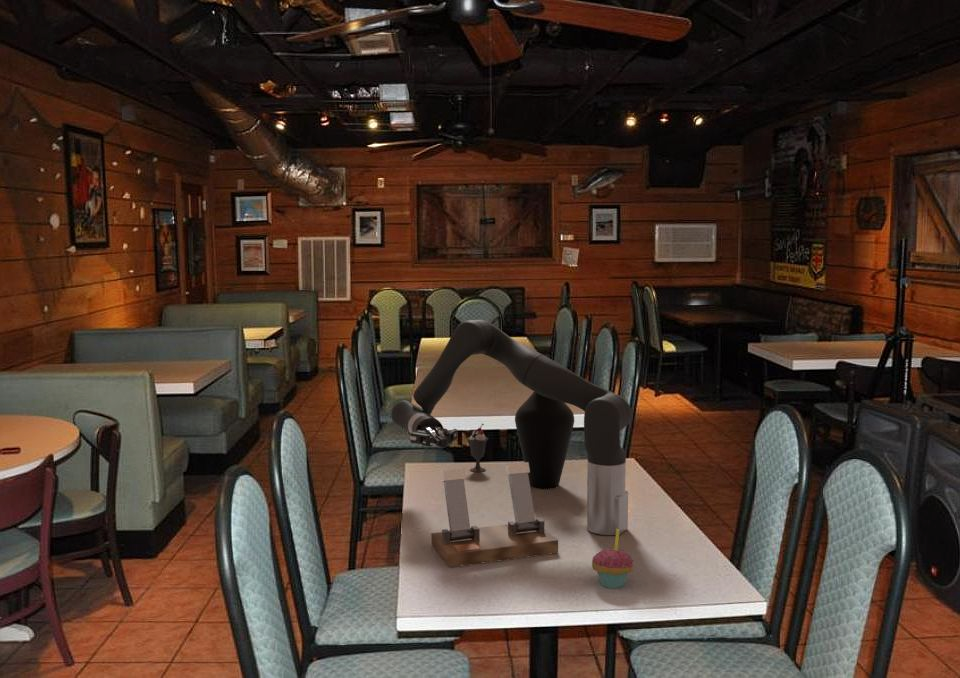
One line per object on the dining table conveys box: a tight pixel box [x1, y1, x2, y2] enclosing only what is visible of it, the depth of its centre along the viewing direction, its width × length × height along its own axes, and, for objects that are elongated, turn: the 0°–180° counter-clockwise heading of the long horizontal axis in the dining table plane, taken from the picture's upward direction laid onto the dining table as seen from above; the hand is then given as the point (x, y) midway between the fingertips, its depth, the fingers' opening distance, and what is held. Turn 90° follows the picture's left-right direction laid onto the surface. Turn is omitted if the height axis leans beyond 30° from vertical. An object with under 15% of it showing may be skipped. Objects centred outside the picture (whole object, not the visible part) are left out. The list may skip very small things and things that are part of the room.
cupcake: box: [591, 525, 634, 589], centre depth 171 cm, size 9×8×12 cm
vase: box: [514, 391, 575, 490], centre depth 240 cm, size 17×17×35 cm
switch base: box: [430, 517, 559, 568], centre depth 191 cm, size 26×14×6 cm, turn 109°
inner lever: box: [504, 462, 539, 533], centre depth 196 cm, size 5×2×16 cm, turn 109°
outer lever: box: [439, 467, 473, 541], centre depth 190 cm, size 5×2×16 cm, turn 109°
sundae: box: [466, 423, 490, 473], centre depth 257 cm, size 7×7×15 cm
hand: (443, 443), depth 201 cm, fingers closed
